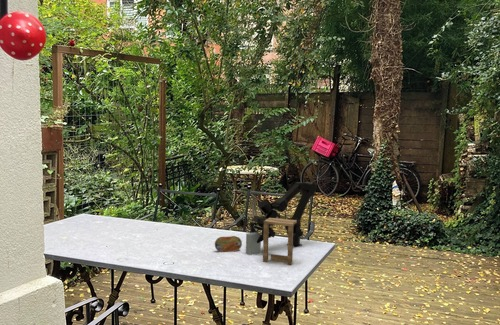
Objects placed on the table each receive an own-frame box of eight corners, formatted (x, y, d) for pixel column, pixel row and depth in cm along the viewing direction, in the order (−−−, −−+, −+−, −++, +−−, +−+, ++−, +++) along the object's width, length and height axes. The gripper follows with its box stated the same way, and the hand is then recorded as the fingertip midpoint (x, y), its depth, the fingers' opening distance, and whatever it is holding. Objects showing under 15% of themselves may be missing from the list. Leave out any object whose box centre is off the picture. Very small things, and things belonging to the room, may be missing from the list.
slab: (256, 251, 257) (256, 231, 256) (260, 252, 254) (260, 233, 253) (245, 253, 253) (246, 233, 252) (250, 254, 250) (250, 235, 249)
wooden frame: (268, 256, 247) (269, 217, 245) (295, 259, 242) (296, 220, 241) (262, 261, 238) (263, 221, 236) (291, 265, 233) (292, 223, 231)
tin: (215, 252, 253) (215, 237, 252) (214, 251, 256) (214, 236, 255) (241, 251, 257) (242, 236, 256) (240, 249, 260) (240, 235, 259)
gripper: (251, 207, 262) (234, 228, 256) (271, 213, 247) (255, 235, 241) (261, 219, 267) (246, 240, 261) (282, 225, 252) (266, 248, 246)
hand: (252, 241), depth 252 cm, fingers open, 7 cm apart
